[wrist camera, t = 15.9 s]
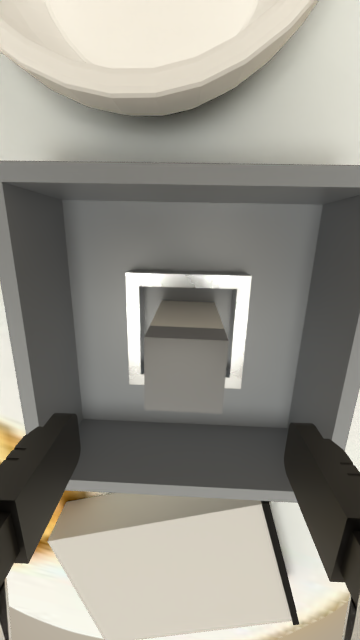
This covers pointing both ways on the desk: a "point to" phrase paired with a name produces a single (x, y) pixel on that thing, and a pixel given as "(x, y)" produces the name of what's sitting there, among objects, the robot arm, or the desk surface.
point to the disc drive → (173, 564)
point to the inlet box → (192, 286)
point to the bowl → (146, 48)
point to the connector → (185, 358)
